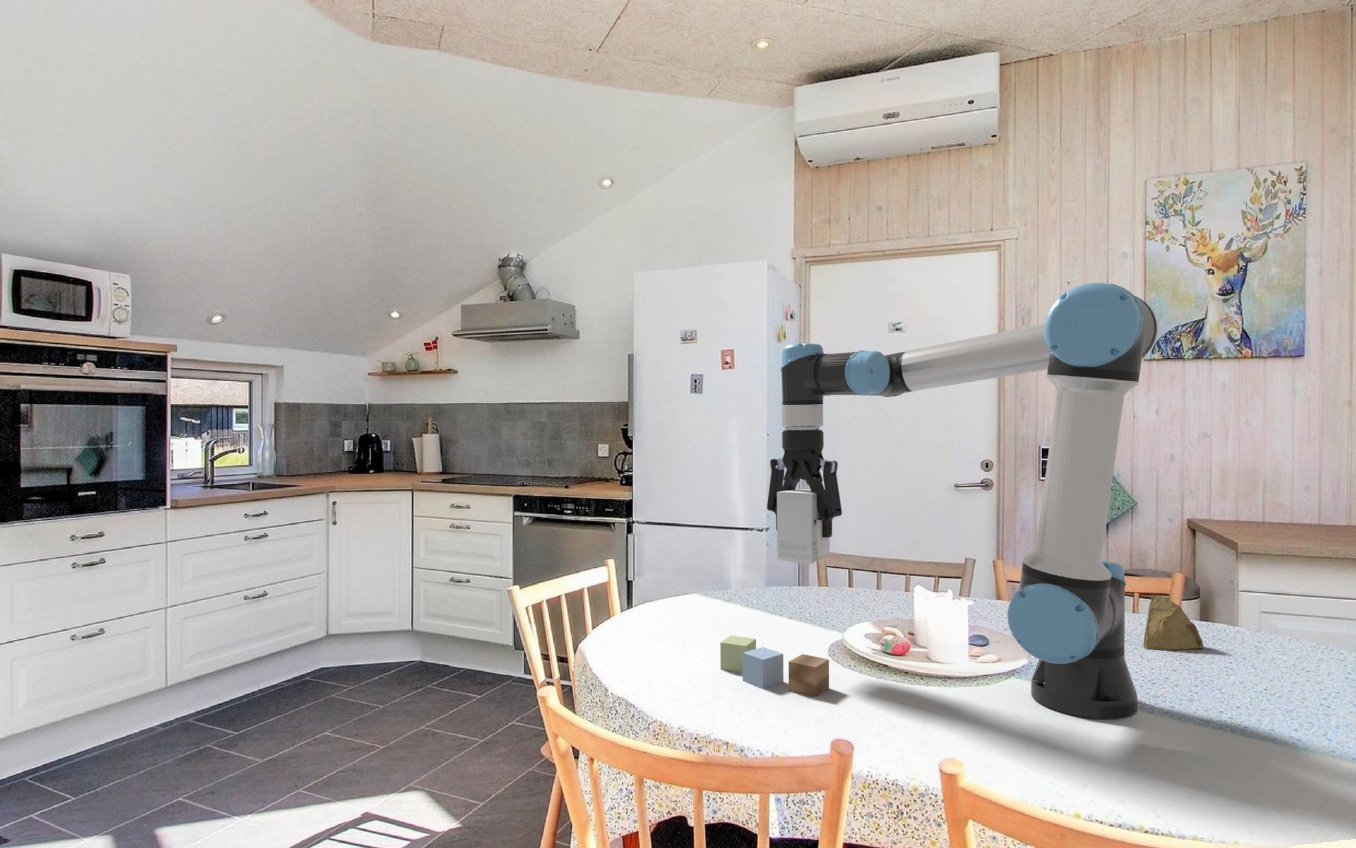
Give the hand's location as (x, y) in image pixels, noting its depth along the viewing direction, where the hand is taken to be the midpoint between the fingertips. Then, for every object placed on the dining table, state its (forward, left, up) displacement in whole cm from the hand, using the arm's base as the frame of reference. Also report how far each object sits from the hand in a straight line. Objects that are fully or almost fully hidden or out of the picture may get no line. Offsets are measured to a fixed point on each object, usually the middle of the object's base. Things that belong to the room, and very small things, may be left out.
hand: (803, 552), depth 142 cm
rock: (-44, -61, -21) cm, 78 cm away
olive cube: (+8, +9, -21) cm, 24 cm away
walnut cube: (-8, +9, -21) cm, 24 cm away
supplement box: (0, 0, -1) cm, 1 cm away
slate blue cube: (0, +12, -21) cm, 24 cm away
